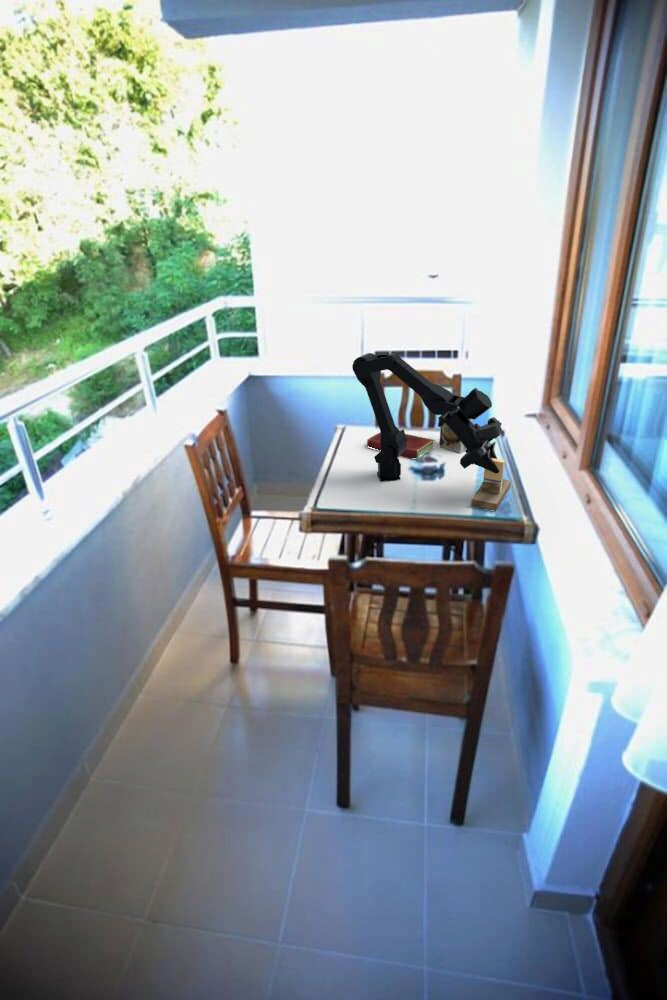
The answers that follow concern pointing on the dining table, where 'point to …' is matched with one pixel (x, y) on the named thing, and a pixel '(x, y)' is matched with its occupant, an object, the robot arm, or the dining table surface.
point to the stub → (494, 476)
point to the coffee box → (450, 438)
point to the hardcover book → (414, 445)
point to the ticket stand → (490, 494)
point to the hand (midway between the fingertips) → (499, 471)
